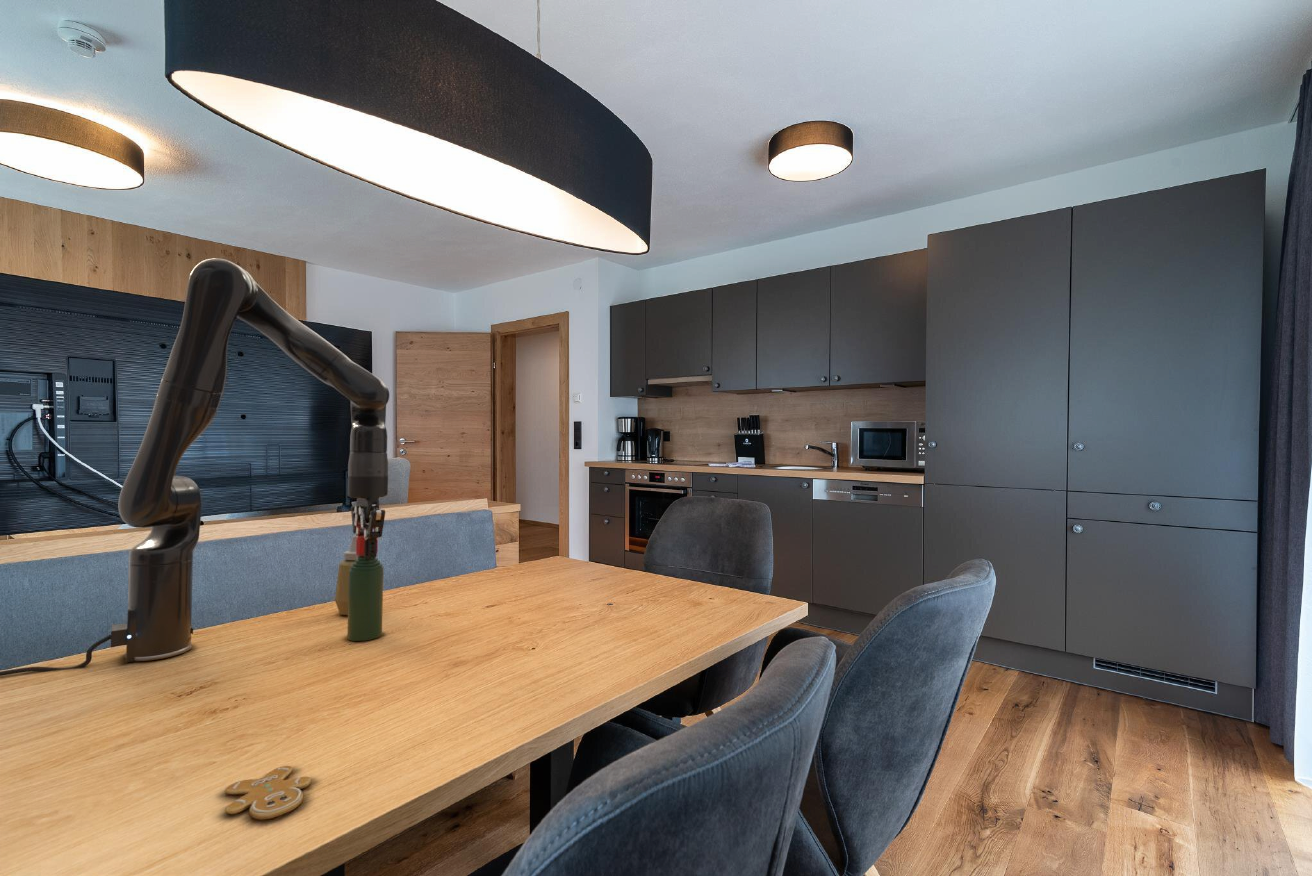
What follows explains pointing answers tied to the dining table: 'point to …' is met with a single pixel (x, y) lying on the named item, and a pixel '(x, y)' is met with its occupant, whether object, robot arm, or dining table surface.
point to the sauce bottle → (365, 599)
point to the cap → (361, 545)
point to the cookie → (268, 794)
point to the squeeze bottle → (345, 578)
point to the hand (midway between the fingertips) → (366, 556)
